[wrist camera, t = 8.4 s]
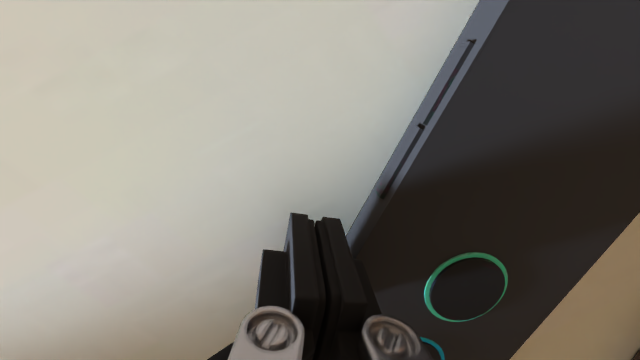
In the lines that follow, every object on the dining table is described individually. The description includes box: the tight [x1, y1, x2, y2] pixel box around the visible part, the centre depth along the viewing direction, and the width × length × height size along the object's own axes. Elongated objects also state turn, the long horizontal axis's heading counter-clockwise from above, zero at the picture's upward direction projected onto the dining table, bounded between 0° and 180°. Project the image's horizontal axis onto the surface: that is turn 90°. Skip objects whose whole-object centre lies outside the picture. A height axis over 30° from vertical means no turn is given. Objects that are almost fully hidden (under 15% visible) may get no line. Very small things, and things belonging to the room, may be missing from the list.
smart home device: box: [346, 0, 640, 360], centre depth 12 cm, size 8×2×20 cm
